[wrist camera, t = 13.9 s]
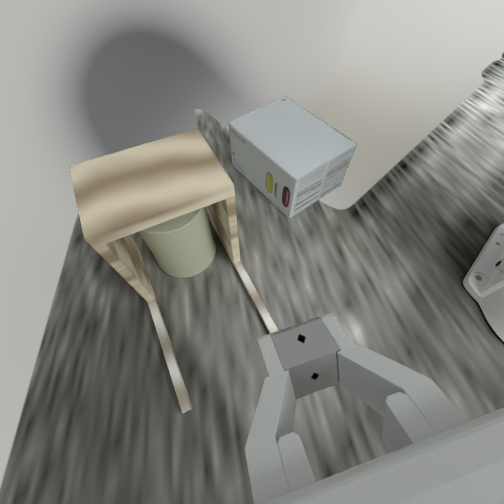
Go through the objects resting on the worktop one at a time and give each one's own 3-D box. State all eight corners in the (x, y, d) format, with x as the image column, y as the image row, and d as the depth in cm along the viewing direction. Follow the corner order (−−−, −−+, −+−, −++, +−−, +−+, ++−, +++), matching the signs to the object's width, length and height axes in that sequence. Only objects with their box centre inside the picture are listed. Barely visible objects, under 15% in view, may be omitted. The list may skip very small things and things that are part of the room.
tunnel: (289, 354, 33) (318, 316, 19) (184, 413, 30) (122, 420, 15) (215, 217, 44) (197, 128, 30) (132, 249, 41) (69, 166, 27)
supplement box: (230, 166, 51) (226, 121, 43) (281, 139, 55) (286, 93, 47) (288, 220, 44) (296, 179, 36) (341, 185, 48) (359, 141, 40)
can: (226, 260, 40) (217, 209, 30) (170, 289, 38) (138, 244, 27) (200, 219, 44) (184, 161, 34) (148, 242, 42) (113, 189, 31)
